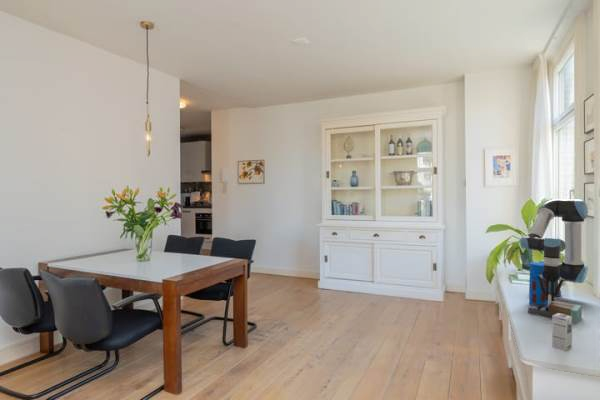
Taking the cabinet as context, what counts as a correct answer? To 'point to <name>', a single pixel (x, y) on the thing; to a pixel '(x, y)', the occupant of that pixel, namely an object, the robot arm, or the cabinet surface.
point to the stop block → (576, 313)
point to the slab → (560, 307)
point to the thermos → (536, 285)
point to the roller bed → (540, 310)
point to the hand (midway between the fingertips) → (549, 306)
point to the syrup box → (562, 331)
